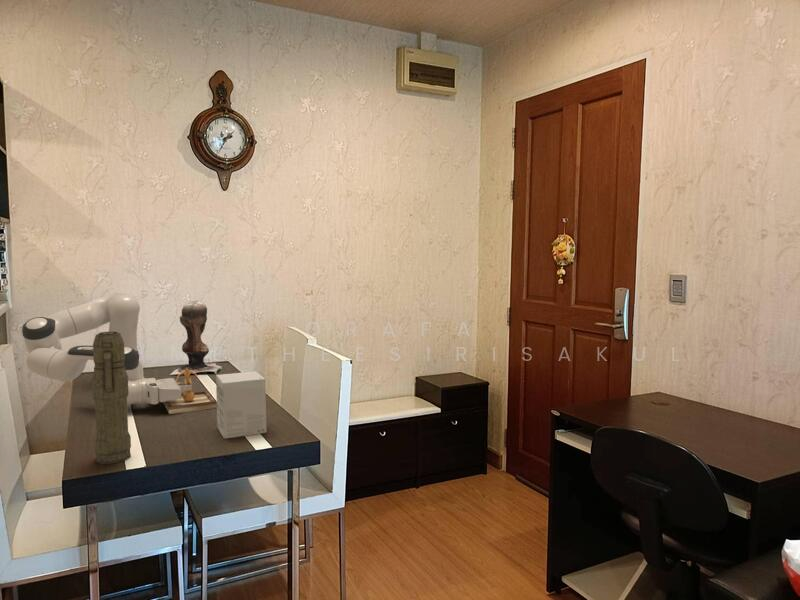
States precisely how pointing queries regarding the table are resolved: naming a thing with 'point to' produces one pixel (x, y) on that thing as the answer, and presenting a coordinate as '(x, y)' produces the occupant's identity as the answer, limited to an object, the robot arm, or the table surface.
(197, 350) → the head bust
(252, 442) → the table surface
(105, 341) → the olive green bag
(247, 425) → the supplement box
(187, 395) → the figurine
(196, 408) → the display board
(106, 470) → the table surface
